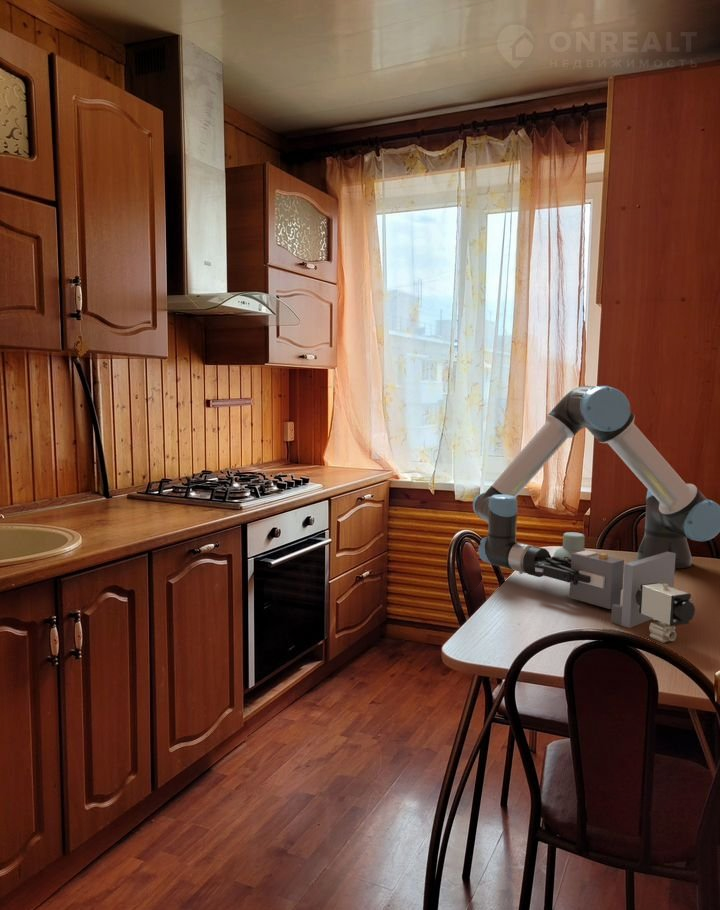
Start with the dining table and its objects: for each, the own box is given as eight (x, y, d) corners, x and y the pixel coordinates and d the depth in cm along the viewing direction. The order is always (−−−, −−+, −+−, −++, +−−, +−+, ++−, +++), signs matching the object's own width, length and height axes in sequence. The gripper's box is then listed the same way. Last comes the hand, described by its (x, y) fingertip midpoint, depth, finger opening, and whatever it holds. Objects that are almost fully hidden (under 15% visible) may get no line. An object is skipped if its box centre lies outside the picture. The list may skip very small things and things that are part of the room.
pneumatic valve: (676, 651, 141) (680, 593, 140) (632, 631, 152) (635, 577, 150) (696, 647, 143) (700, 590, 142) (651, 628, 154) (655, 575, 153)
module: (581, 593, 175) (583, 546, 174) (621, 605, 167) (624, 555, 165) (569, 597, 172) (571, 549, 171) (610, 609, 163) (612, 559, 162)
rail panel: (653, 606, 169) (657, 549, 168) (672, 610, 166) (675, 553, 164) (611, 622, 157) (614, 561, 156) (629, 628, 154) (633, 565, 152)
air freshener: (562, 572, 198) (564, 538, 197) (548, 565, 206) (549, 531, 205) (597, 570, 201) (598, 536, 200) (582, 563, 209) (583, 530, 208)
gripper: (550, 568, 190) (630, 589, 172) (507, 579, 178) (588, 603, 160) (551, 541, 189) (631, 559, 171) (508, 550, 177) (589, 571, 160)
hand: (610, 580), depth 166 cm, fingers closed on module, 5 cm apart
